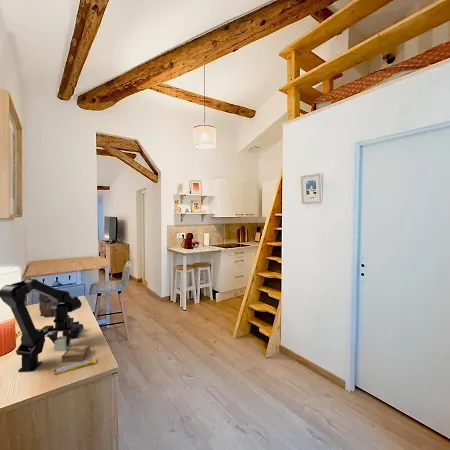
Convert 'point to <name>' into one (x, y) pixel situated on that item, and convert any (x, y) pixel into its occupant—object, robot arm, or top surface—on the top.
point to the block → (61, 343)
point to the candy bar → (74, 366)
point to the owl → (46, 306)
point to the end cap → (73, 334)
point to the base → (76, 353)
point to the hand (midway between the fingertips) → (62, 346)
